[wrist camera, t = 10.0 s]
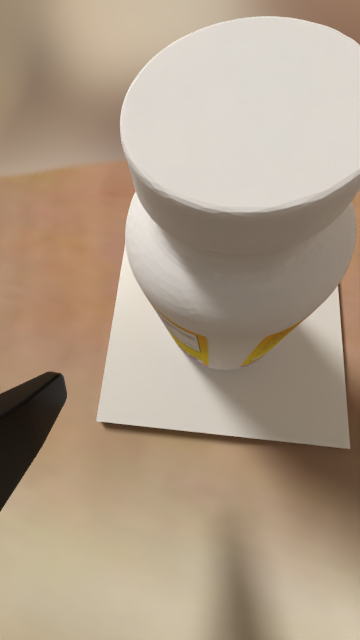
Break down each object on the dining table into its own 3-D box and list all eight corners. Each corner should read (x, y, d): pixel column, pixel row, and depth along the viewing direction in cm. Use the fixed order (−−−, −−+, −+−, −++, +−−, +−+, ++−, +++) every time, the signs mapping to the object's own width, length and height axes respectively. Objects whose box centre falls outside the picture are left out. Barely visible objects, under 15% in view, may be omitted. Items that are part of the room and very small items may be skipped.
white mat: (344, 447, 15) (350, 448, 14) (100, 420, 16) (96, 421, 16) (329, 225, 19) (332, 220, 18) (131, 223, 20) (129, 218, 20)
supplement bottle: (278, 272, 17) (440, -37, 5) (277, 376, 16) (528, 289, 3) (175, 267, 18) (102, -5, 6) (163, 366, 16) (23, 266, 4)
